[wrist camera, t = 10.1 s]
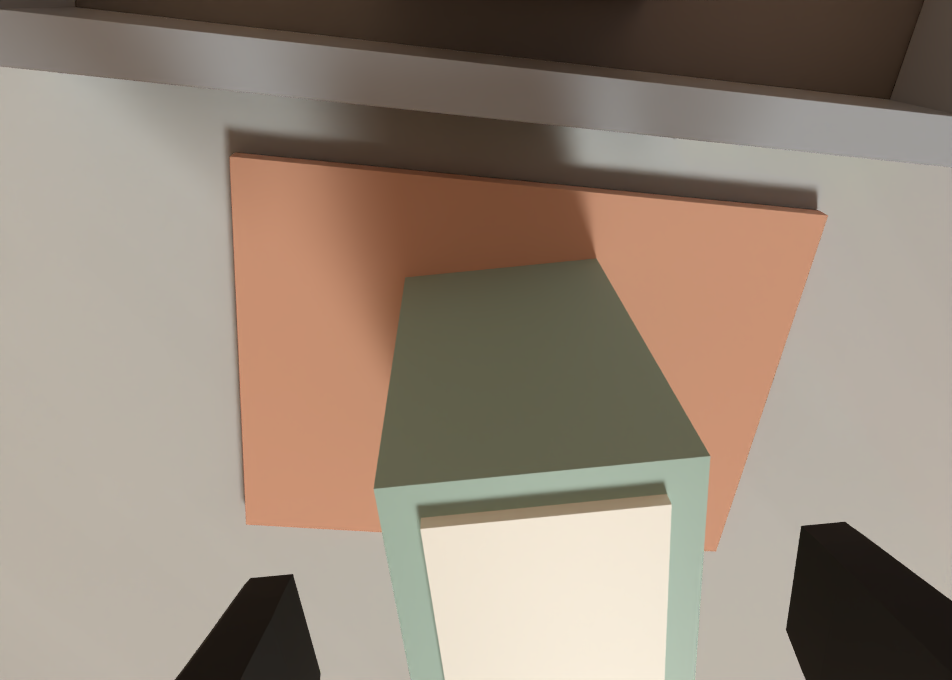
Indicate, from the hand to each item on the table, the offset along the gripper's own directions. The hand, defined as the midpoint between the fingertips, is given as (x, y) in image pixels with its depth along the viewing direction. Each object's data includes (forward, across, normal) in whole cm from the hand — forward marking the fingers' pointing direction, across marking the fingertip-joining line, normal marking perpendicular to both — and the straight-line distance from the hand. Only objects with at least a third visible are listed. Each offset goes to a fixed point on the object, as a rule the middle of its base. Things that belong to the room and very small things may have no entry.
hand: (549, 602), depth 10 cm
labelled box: (+6, 0, 0) cm, 6 cm away
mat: (+7, 0, 0) cm, 7 cm away
